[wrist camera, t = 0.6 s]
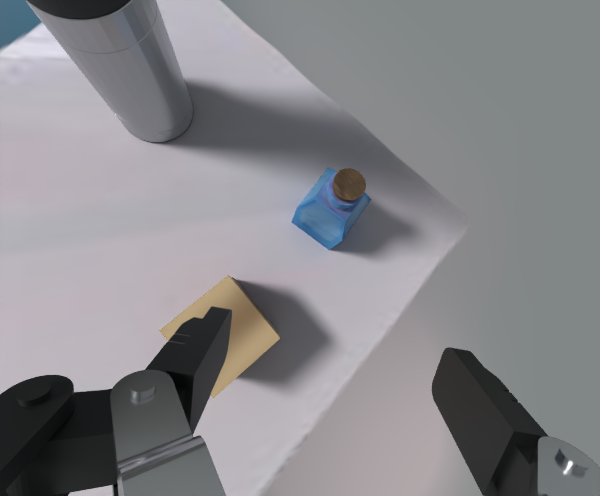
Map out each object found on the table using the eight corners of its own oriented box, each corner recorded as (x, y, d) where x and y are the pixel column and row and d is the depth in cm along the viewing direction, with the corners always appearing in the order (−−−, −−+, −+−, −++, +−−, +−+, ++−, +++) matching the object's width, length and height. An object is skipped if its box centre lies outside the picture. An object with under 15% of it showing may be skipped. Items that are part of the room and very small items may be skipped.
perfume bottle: (291, 222, 39) (304, 188, 27) (318, 187, 40) (341, 141, 29) (329, 250, 39) (358, 228, 27) (354, 214, 40) (392, 179, 29)
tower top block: (172, 326, 31) (159, 330, 27) (232, 278, 33) (228, 275, 29) (219, 385, 31) (213, 398, 27) (278, 333, 33) (280, 338, 29)
